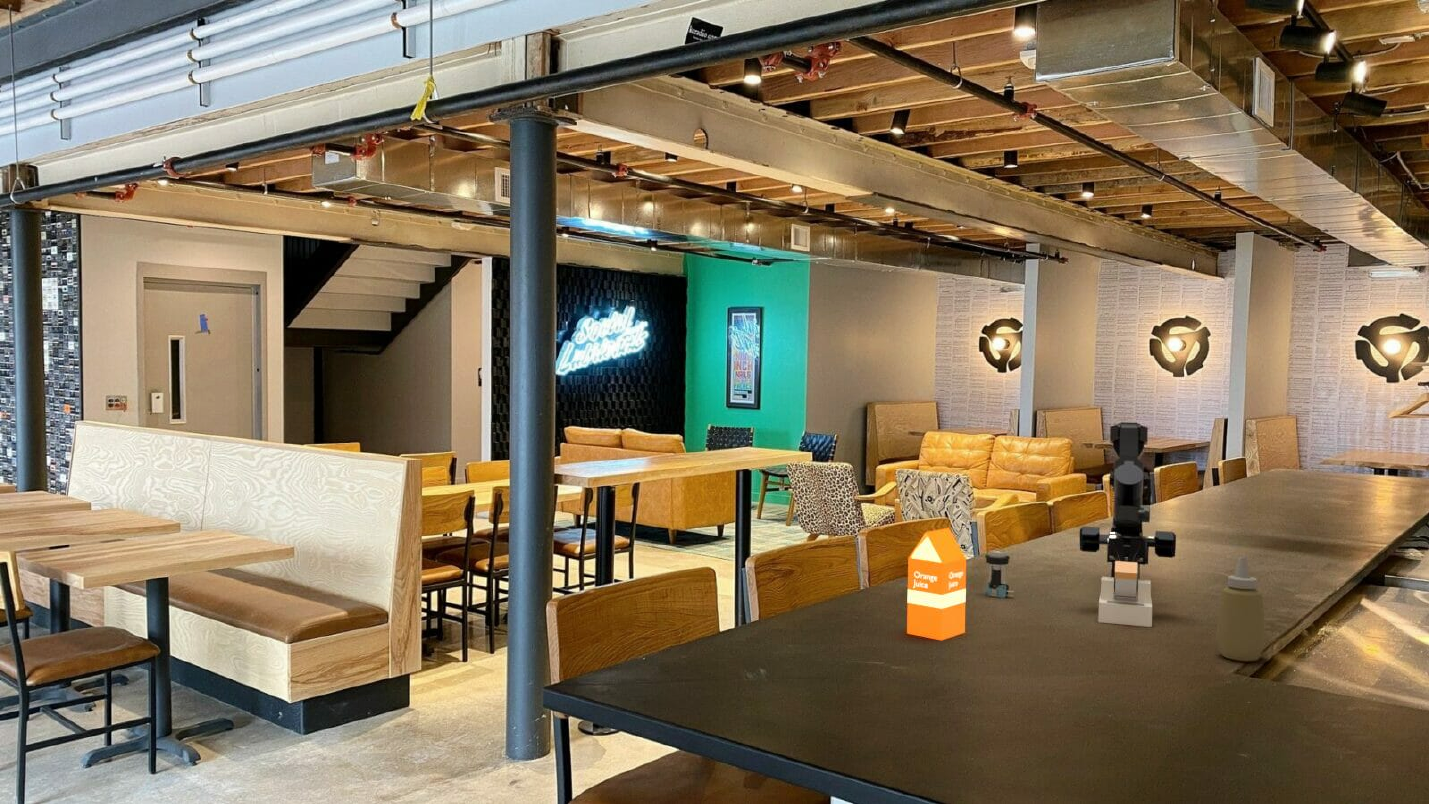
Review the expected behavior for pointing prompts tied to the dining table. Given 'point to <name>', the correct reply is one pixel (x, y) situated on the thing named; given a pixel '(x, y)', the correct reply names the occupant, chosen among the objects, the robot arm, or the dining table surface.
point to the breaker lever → (1125, 579)
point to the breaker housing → (1125, 605)
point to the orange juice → (936, 587)
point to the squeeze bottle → (1241, 617)
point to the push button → (997, 574)
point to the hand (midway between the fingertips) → (1126, 575)
